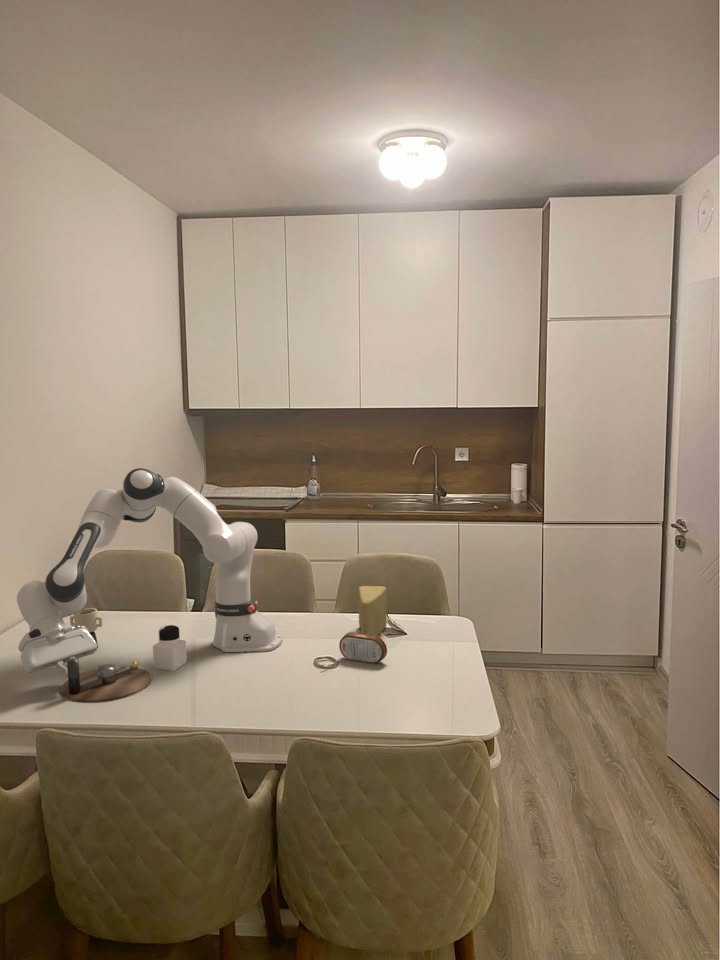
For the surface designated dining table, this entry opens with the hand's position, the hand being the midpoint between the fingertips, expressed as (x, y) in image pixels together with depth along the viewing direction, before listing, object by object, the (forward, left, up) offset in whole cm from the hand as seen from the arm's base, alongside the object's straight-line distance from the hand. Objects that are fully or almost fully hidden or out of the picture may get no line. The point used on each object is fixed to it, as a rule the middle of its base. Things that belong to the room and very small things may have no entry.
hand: (71, 674), depth 205 cm
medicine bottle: (-19, -23, -5) cm, 30 cm away
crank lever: (-6, -6, -4) cm, 10 cm away
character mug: (+13, -33, -5) cm, 36 cm away
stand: (-7, -7, -5) cm, 11 cm away
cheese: (-75, -55, -6) cm, 93 cm away
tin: (-76, -33, -6) cm, 83 cm away
